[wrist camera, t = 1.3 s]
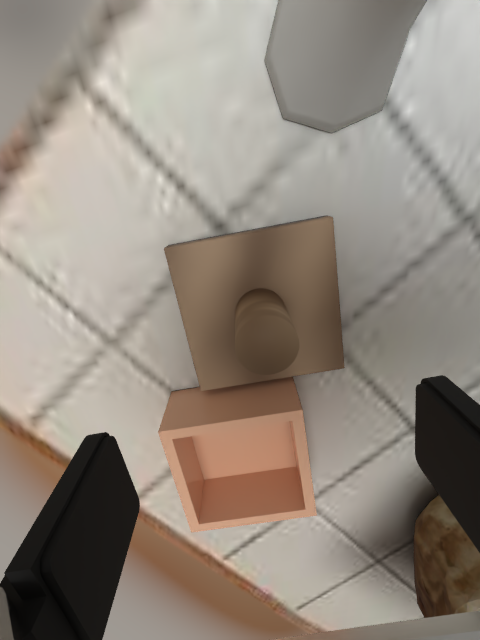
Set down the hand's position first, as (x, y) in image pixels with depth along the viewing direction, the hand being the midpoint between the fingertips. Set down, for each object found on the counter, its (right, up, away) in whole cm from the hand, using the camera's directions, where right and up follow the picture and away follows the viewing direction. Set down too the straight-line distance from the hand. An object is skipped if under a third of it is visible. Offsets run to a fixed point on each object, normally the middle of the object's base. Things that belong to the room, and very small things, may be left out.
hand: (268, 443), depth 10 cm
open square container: (-1, -5, +16) cm, 17 cm away
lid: (0, +5, +12) cm, 13 cm away
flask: (+4, +18, +8) cm, 20 cm away
